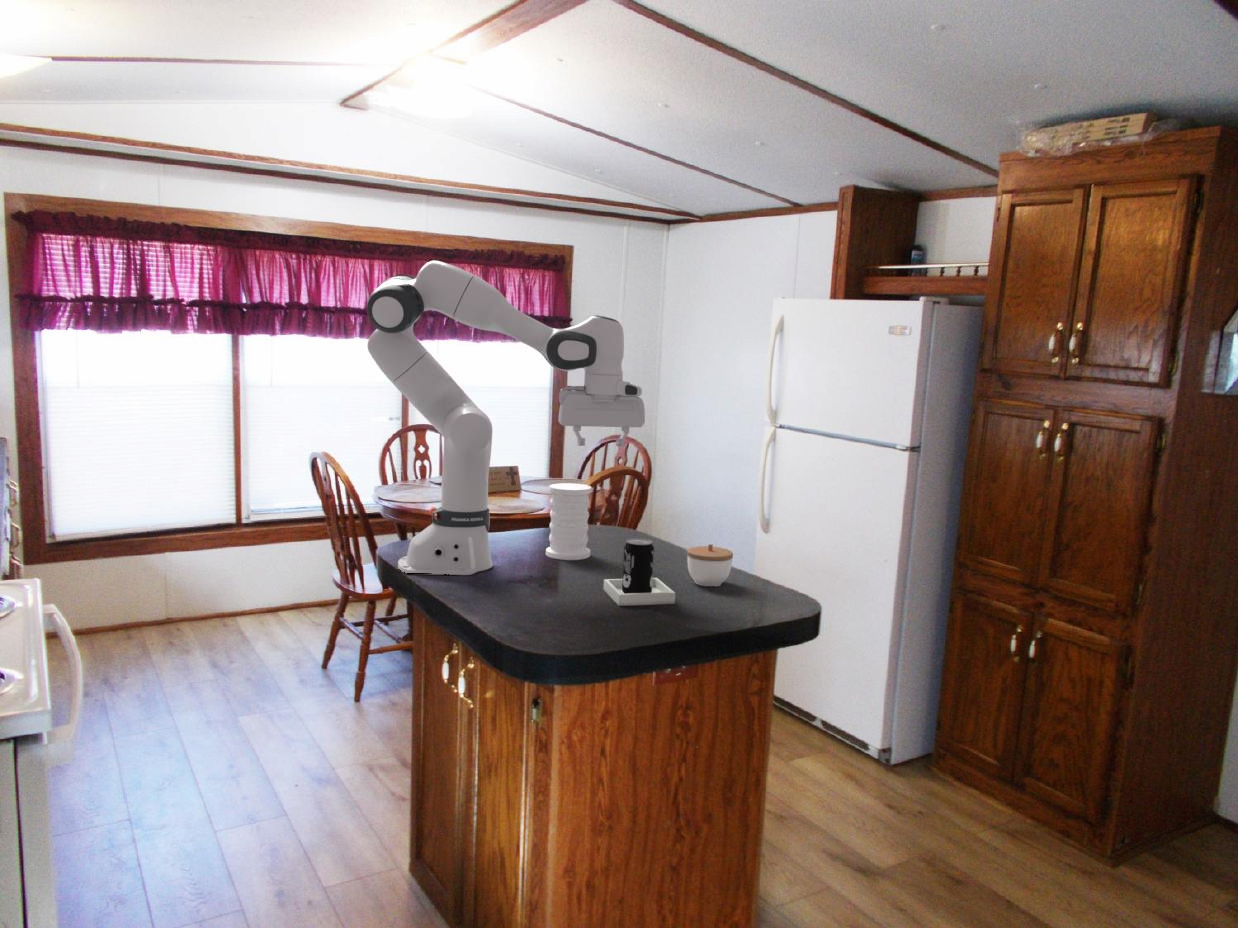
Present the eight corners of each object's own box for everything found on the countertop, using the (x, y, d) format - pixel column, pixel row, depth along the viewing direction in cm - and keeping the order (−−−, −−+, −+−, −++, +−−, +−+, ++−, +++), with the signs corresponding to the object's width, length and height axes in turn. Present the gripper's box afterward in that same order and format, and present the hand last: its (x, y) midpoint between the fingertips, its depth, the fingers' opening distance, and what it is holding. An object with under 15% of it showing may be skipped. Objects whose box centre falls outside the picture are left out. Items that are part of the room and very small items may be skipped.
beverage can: (648, 599, 197) (651, 545, 195) (619, 596, 198) (621, 542, 196) (654, 591, 203) (656, 539, 201) (625, 588, 204) (627, 536, 203)
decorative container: (542, 549, 241) (544, 482, 239) (585, 549, 244) (588, 483, 242) (549, 560, 230) (551, 490, 228) (594, 559, 233) (597, 490, 231)
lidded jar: (682, 577, 220) (684, 538, 218) (725, 577, 221) (728, 539, 220) (689, 589, 209) (692, 549, 208) (735, 589, 210) (738, 550, 209)
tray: (618, 605, 193) (619, 594, 193) (603, 589, 205) (603, 579, 205) (674, 603, 197) (675, 592, 196) (656, 587, 209) (657, 577, 208)
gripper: (562, 386, 206) (559, 446, 208) (648, 389, 211) (645, 448, 213) (556, 384, 212) (554, 443, 214) (640, 387, 217) (637, 444, 219)
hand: (600, 445), depth 214 cm, fingers open, 8 cm apart
